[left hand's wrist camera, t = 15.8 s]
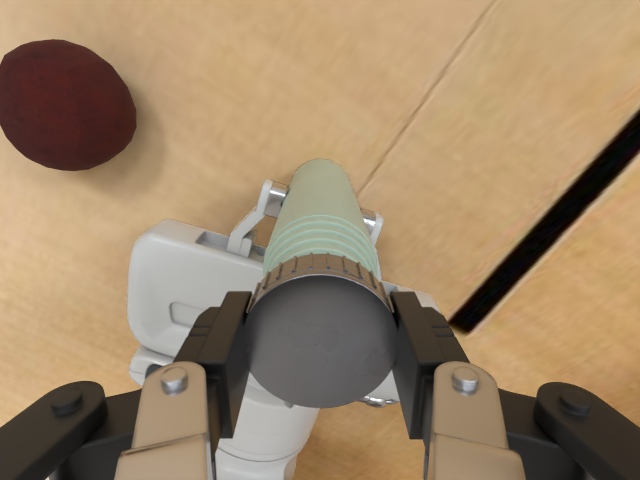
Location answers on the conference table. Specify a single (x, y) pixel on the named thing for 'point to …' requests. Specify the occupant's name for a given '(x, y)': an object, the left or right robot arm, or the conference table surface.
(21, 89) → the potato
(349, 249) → the bottle
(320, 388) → the cap
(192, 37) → the conference table surface
